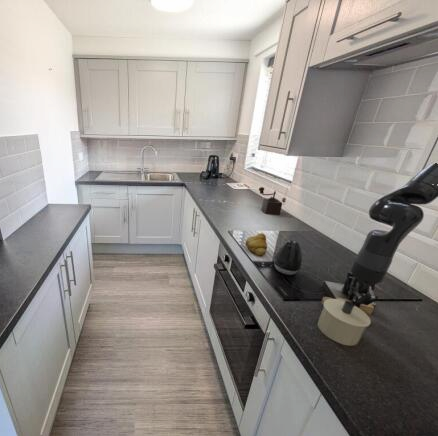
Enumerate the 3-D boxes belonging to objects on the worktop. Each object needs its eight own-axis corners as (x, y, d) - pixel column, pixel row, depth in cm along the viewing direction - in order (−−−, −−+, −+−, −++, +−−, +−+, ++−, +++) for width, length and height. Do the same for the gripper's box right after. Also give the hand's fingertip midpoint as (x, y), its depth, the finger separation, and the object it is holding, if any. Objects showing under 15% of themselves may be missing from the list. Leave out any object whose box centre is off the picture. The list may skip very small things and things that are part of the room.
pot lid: (357, 306, 72) (362, 295, 71) (378, 333, 62) (384, 322, 61) (317, 298, 75) (320, 288, 74) (331, 323, 65) (336, 312, 64)
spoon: (365, 308, 78) (369, 301, 77) (373, 317, 74) (376, 310, 73) (319, 299, 82) (322, 292, 81) (324, 307, 78) (327, 300, 77)
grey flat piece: (357, 293, 89) (360, 286, 87) (373, 312, 80) (376, 304, 78) (322, 286, 92) (324, 280, 91) (332, 303, 83) (335, 296, 82)
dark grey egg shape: (267, 270, 101) (275, 239, 96) (277, 262, 108) (285, 233, 102) (292, 281, 94) (303, 249, 89) (301, 272, 101) (311, 241, 95)
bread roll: (268, 258, 111) (272, 243, 108) (247, 255, 113) (250, 240, 110) (262, 245, 123) (265, 232, 120) (243, 243, 125) (246, 230, 122)
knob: (339, 289, 86) (343, 278, 84) (346, 287, 87) (351, 277, 85) (350, 296, 82) (355, 285, 80) (358, 294, 83) (363, 283, 82)
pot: (348, 323, 75) (356, 305, 72) (365, 350, 65) (376, 330, 63) (312, 315, 77) (319, 297, 74) (324, 340, 68) (332, 321, 65)
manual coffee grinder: (274, 210, 179) (280, 187, 173) (279, 215, 169) (286, 191, 163) (253, 208, 181) (258, 186, 175) (257, 213, 171) (263, 190, 165)
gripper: (346, 250, 78) (329, 292, 84) (369, 273, 66) (347, 319, 72) (373, 254, 76) (354, 296, 82) (402, 278, 64) (376, 325, 70)
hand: (351, 307), depth 77 cm, fingers closed on spoon, 2 cm apart
